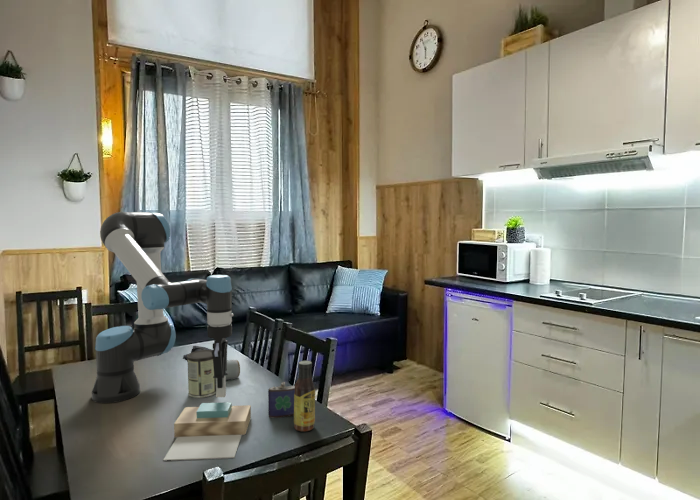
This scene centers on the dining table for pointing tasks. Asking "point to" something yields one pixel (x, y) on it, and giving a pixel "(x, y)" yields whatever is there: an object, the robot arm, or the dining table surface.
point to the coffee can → (201, 374)
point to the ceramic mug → (232, 369)
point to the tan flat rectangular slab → (212, 423)
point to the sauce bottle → (304, 398)
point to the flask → (281, 401)
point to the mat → (203, 447)
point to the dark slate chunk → (196, 348)
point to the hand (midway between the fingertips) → (221, 396)
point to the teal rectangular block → (214, 410)
